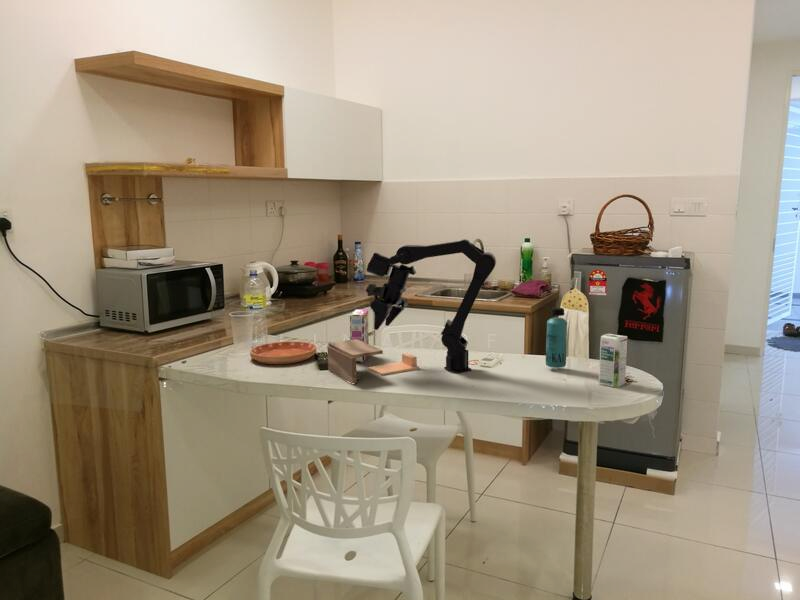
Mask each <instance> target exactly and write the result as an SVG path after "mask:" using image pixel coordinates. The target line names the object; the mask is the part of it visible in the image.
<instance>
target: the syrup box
mask: <svg viewBox="0 0 800 600" xmlns="http://www.w3.org/2000/svg"><path fill="white" fill-rule="evenodd" d="M599 342H600V343H599V344H600V345H599V346H600V347H599V370H598V371H599V374H598V384H599V385H602V386H607V387H611V388H615V389H617V388H619V387H621V386H623V385H626V384H625V383H626V372H627V370H626V369H627V350H628V349H627V348H628V336H627V335H620V334H612V333H605V334H603V335H601V336H600V341H599Z"/></svg>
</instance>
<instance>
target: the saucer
mask: <svg viewBox="0 0 800 600" xmlns="http://www.w3.org/2000/svg"><path fill="white" fill-rule="evenodd" d="M316 353H317V345H316V344H314V343H312V342H307V341H299V340H298V341H297V340H296V341H294V340H293V341H292V340H291V341H277V342H270V343H269V342H268V343H265V344H260V345H257V346H255V347H252V348H251V349H250V350H249V354H250V355H249V356H250V358H252V359H253V360H255V361H257V362H259V363H260V364H261V363H262V364H266V365H288V364H289V365H290V364H294V363H295V364H296V363H301V362H304V361H306V360H308V359H309V358H311V357H312V356H313V355H315V354H316Z"/></svg>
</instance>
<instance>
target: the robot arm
mask: <svg viewBox="0 0 800 600" xmlns="http://www.w3.org/2000/svg"><path fill="white" fill-rule="evenodd" d="M395 253H396V254H395V255H392V256H390V257H387V256H384V255H382V254H380V253H379V252H374V253H373V254H372V256H371V258H370V260H369V262H368V263H367V268H366V273H369V274H372V275H374V276H376V277H380V278H382V279H383V278H385V276H386V277H388V276H389V277H388V280H387V282H385V283H384V284H383V285H377V284H375V283H368V285H367V286H366V289H365V292H366V294H367V297H371V296H372V297H374V296H375V297H378V298H375V299H372V300H371V301H370V303H369V307H370V309H371V310H372V312H373V313H374V325H373V329H374V330H376V331H378V330H379V329H380V327H381V326H382V325H383V324H384V326H386V327H389V326H390V324H392V323H393V321H394V320H395V319H396V318H397V317H398V316H399V315H400V314H401V313H402V312H403V311H404V310H405V308H406V309H407V306H408V303H409V301H408V299H407V298H406V297H403V293H405V292H406V290H407V288H406V284H407V281H408V278H409V275H413V276H414V275H416V274H417V271H416V269H415V268H414V267H415V266H414V265H411V266H407V265H409V264H412V263H415V262H418V261H421V260H423V259H428V258H433V257H434V258H435V257H441V256H447V255H454V254H455V255H456V254H463V255H464V256H466V258H468V259H469V260H470V261H471V262H472V263H473V264H475V266H474V271H473V274H472V278H471V281H470V283H469V285H468V287H467V290H466V291H465V293H464V296H463V297H462V301H461V303H460V305H459V307H458V310H457V311H456V313H455V316H454V317H453V318H452V320H450V319H448V318H447V321H446V322H445V324H444V328H443V329H442V331H441V332H440V335H441V340H440V341H441V343H442V345H443V347H445V348H446V349H447V350H446V356H445V366H444V368H443V369H445V370H446V371H449V372H452V373H455V374H457V373H461V372H462V373H463V372H468V371H472V368H471V367H469V350H468V349H467V346H468V344H469V342H468V340H467V339H466V338H464V336H463V332H464V327H465V323H466V320H467V318H468V316H469V314H470V311H471V310H472V308H473V306H474V303H475V301H476V299H477V297H478V296H479V295H478V294H480V293H479V292H480V290H481V289H482V286H483V285H484V283H485V282H486V281H487V279H488V278H489V276H490V275H491V273H492V272H493V270H494V269H495V267H496V265H497V259H496V256H495V255H494V254H493V253H491V252H485V251H484V250H482V249H480V247H478V246H476V245H474V244H473V243H472V242H470V240H468V239H461V240H456V241H451V242H450V241H449V242H444V243H443V242H442V243H435V244H429V245H420V244H406V245H402V246H401V247H398V249H397V250H396V252H395ZM397 264H400V265H397ZM384 322H385V323H384Z"/></svg>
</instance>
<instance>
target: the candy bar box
mask: <svg viewBox="0 0 800 600" xmlns="http://www.w3.org/2000/svg"><path fill="white" fill-rule="evenodd" d="M349 334H350V336H349V337H350V339H349V340H355V339H357V340H360V341H362V342H364V343H367V344H369V345H370V342H369V339H370V338H369V309H354V310H353V311H352V312H351V313H350V314H349ZM367 358H368V356H365V357H358V358H356V363H365V361H366V359H367Z"/></svg>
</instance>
